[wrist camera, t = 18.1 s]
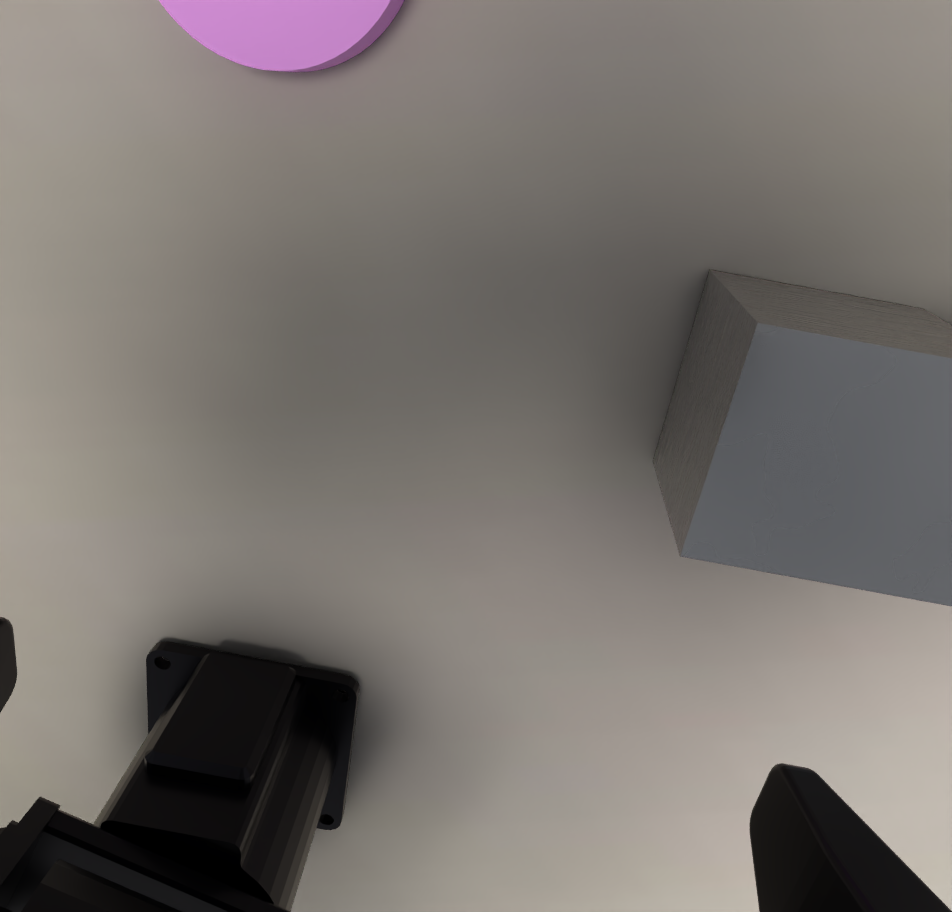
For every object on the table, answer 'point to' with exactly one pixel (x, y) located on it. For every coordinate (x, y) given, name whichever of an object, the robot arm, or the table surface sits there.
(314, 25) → the bracket
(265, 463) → the table surface
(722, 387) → the block
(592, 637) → the table surface
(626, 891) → the table surface
